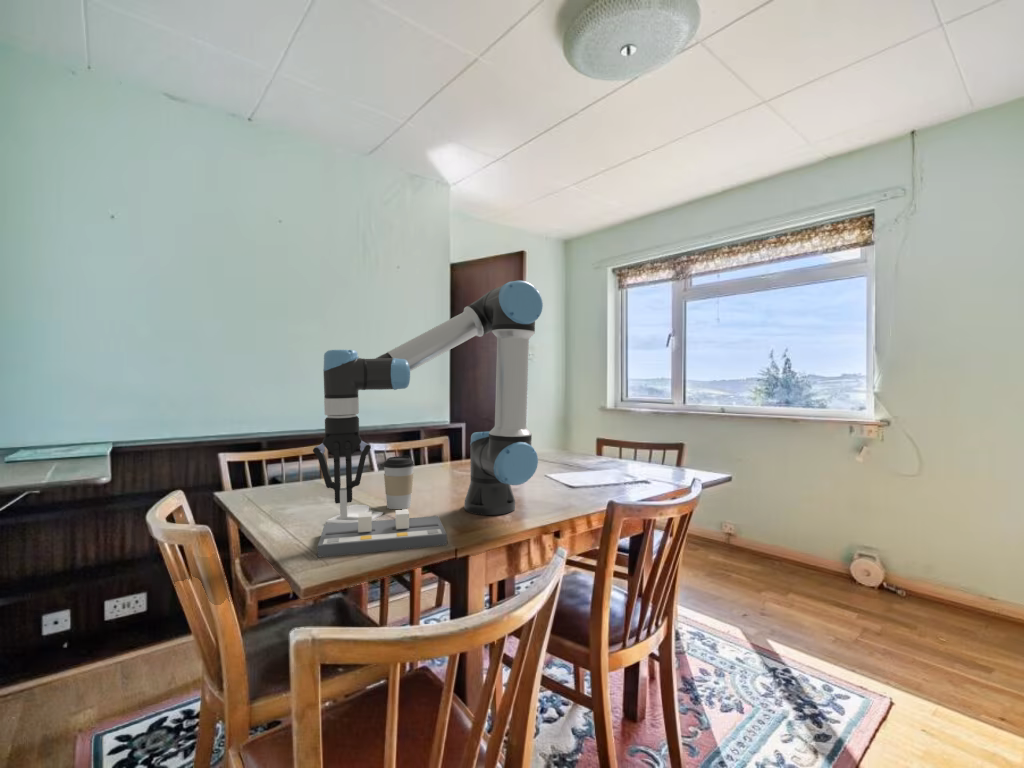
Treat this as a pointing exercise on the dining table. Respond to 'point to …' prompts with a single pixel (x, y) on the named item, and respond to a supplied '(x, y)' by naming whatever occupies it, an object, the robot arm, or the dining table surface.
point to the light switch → (353, 515)
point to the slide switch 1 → (365, 522)
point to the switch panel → (381, 536)
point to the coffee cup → (398, 481)
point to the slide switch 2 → (402, 519)
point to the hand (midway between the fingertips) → (344, 516)
